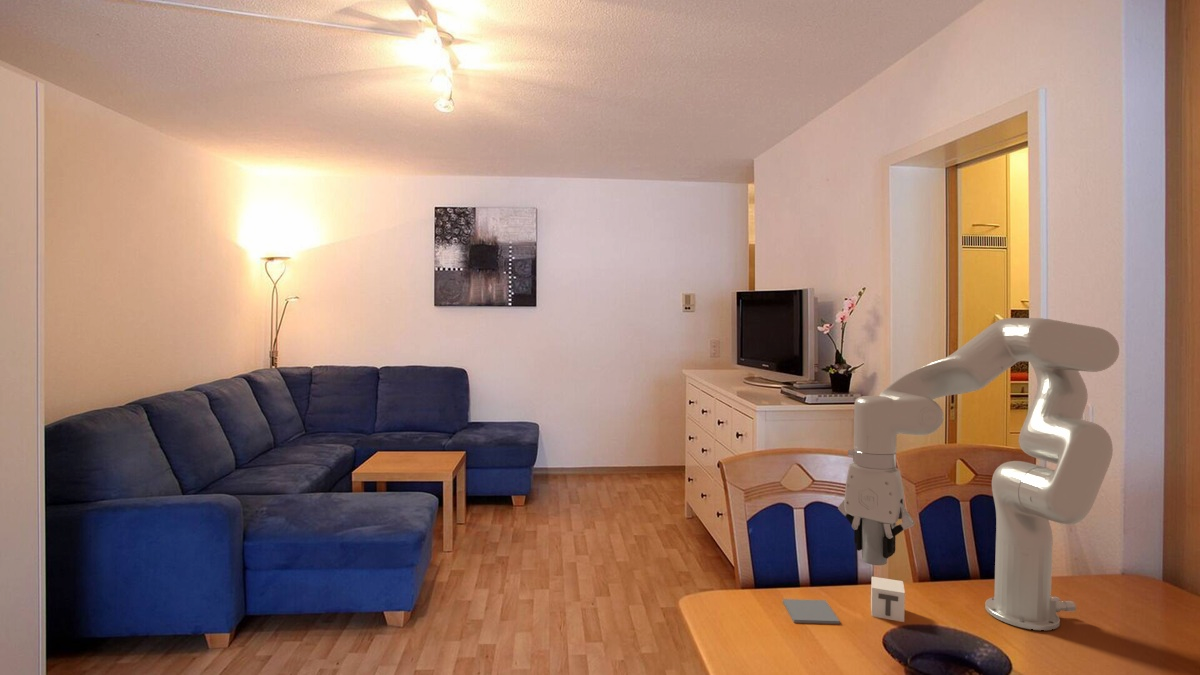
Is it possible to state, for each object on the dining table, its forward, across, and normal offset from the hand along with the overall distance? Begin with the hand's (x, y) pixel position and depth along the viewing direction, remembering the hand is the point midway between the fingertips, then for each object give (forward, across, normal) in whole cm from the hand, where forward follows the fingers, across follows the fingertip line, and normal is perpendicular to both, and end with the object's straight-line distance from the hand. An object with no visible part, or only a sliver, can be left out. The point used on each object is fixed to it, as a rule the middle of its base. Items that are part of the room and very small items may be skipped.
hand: (874, 551), depth 120 cm
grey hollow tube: (+2, 0, 0) cm, 2 cm away
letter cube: (+16, -1, +9) cm, 18 cm away
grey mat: (+15, -12, -3) cm, 19 cm away
